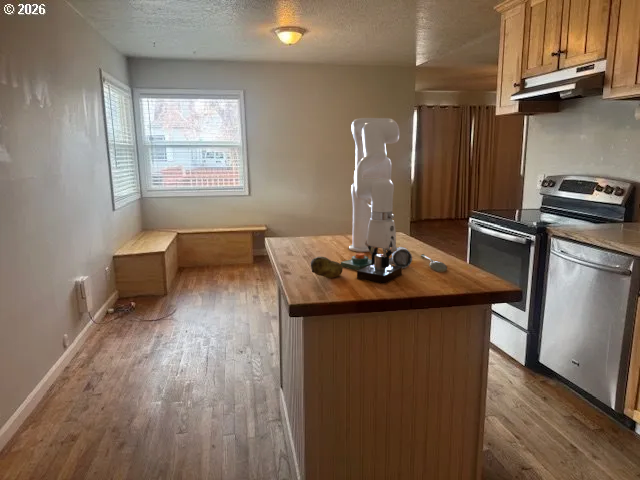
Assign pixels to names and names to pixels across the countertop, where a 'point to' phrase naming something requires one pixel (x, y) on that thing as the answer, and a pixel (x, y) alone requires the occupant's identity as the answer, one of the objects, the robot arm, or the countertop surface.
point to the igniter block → (357, 263)
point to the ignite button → (360, 255)
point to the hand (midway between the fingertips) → (380, 265)
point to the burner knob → (378, 262)
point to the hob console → (379, 274)
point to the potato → (326, 267)
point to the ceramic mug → (401, 258)
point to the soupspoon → (436, 264)
